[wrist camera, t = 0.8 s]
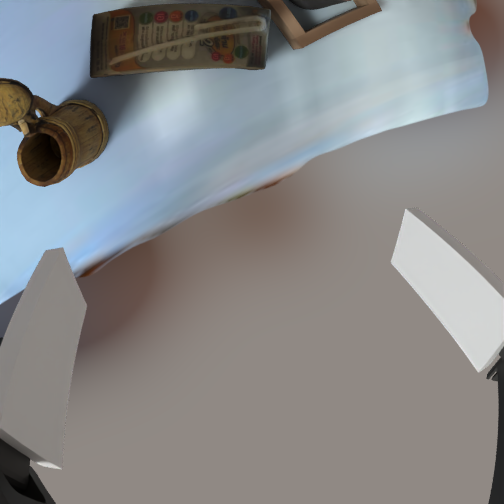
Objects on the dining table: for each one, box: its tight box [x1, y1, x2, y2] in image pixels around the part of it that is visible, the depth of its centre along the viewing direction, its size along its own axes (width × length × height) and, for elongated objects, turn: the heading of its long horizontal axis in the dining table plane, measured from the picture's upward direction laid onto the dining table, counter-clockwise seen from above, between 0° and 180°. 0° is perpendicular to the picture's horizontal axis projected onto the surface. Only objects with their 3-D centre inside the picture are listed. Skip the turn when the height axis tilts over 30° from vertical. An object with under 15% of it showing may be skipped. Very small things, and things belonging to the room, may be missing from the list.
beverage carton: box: [90, 3, 271, 78], centre depth 25 cm, size 8×19×7 cm, turn 86°
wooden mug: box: [0, 78, 109, 187], centre depth 22 cm, size 9×14×18 cm, turn 10°
